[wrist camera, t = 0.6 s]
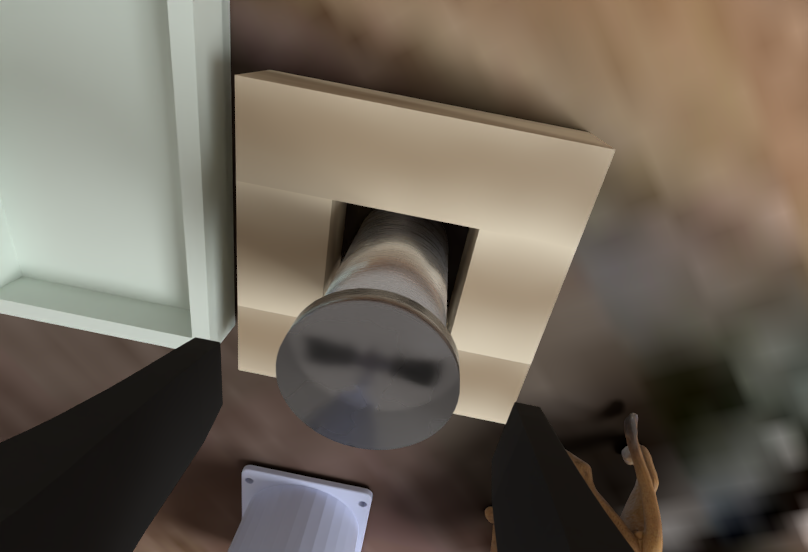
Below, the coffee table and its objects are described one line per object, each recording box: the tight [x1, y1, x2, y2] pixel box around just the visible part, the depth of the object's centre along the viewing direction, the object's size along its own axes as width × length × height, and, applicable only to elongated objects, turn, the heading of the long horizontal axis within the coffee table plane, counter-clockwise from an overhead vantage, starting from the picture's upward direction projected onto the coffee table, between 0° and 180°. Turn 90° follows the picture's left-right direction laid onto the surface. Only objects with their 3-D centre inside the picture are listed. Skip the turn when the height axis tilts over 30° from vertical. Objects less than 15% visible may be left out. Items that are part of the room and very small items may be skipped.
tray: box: [0, 0, 235, 349], centre depth 17 cm, size 16×11×2 cm
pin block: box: [235, 70, 615, 424], centre depth 18 cm, size 12×12×3 cm
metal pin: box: [276, 209, 460, 450], centre depth 15 cm, size 5×5×9 cm
